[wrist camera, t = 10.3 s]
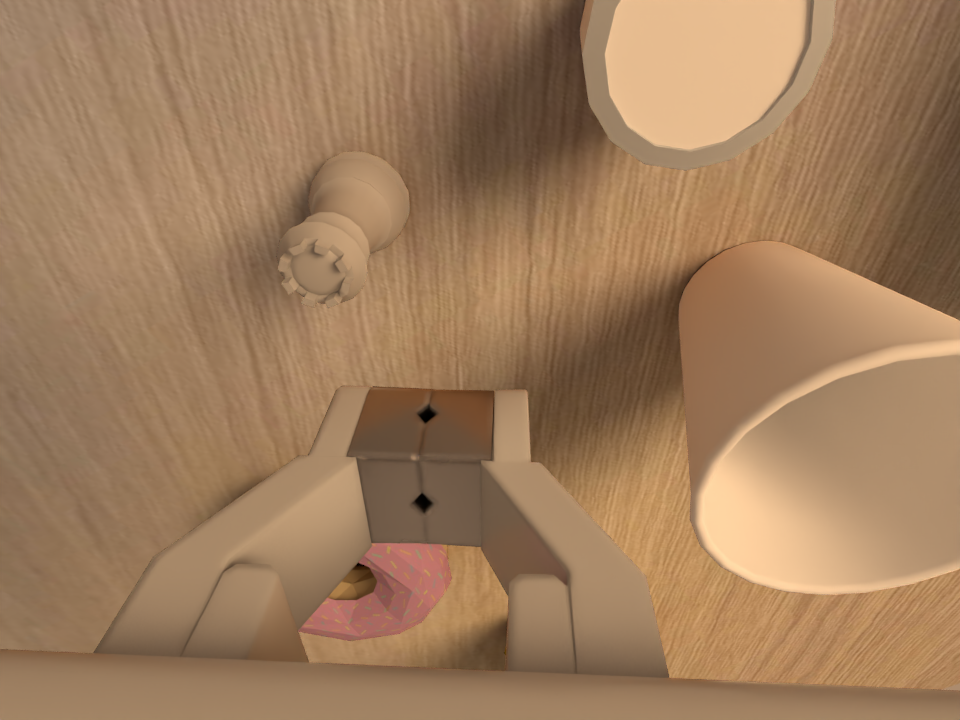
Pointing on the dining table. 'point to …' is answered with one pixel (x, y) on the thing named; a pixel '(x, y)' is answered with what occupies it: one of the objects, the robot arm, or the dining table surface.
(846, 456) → the cup
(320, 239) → the rook chess piece
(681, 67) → the shot glass
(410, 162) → the dining table surface
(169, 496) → the dining table surface
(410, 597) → the donut
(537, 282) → the dining table surface
